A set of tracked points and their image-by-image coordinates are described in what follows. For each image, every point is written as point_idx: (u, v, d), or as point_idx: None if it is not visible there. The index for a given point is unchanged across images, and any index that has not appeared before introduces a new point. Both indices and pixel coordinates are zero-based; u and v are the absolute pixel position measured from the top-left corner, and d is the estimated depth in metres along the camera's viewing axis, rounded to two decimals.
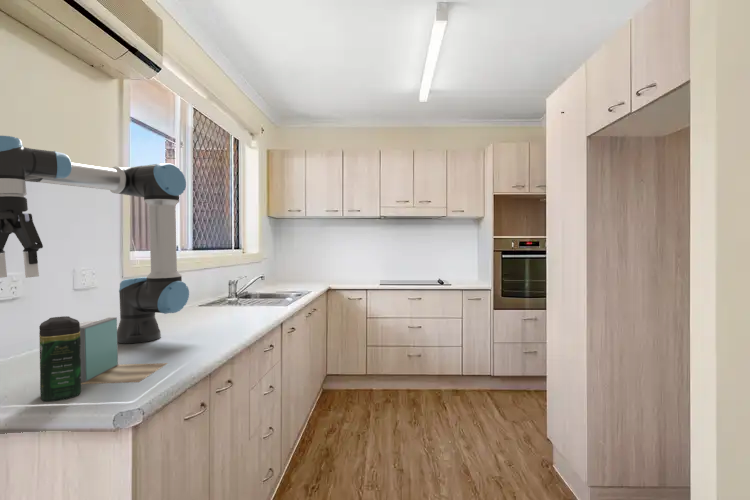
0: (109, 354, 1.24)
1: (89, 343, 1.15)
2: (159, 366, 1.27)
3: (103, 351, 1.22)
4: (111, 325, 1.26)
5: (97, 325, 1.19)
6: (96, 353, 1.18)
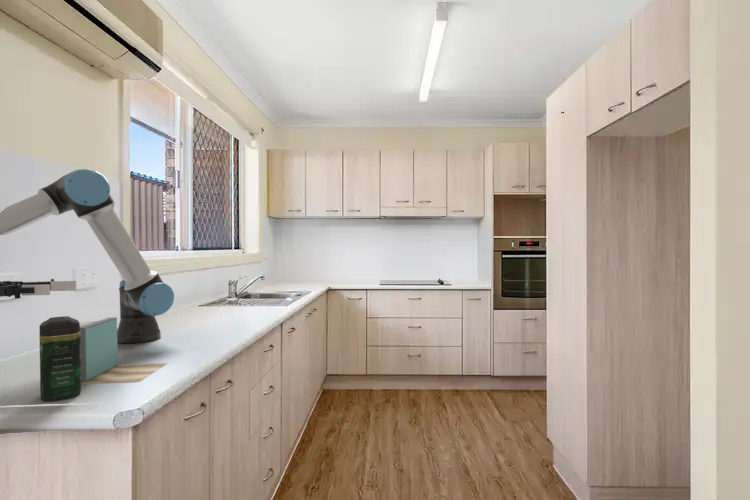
0: (109, 354, 1.24)
1: (89, 343, 1.15)
2: (159, 366, 1.27)
3: (103, 351, 1.22)
4: (111, 325, 1.26)
5: (97, 325, 1.19)
6: (96, 353, 1.18)
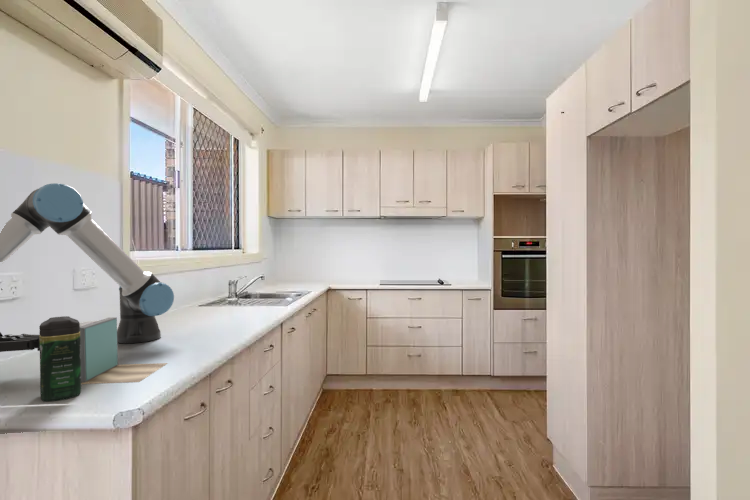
0: (109, 354, 1.24)
1: (89, 343, 1.15)
2: (159, 366, 1.27)
3: (103, 351, 1.22)
4: (111, 325, 1.26)
5: (97, 325, 1.19)
6: (96, 353, 1.18)
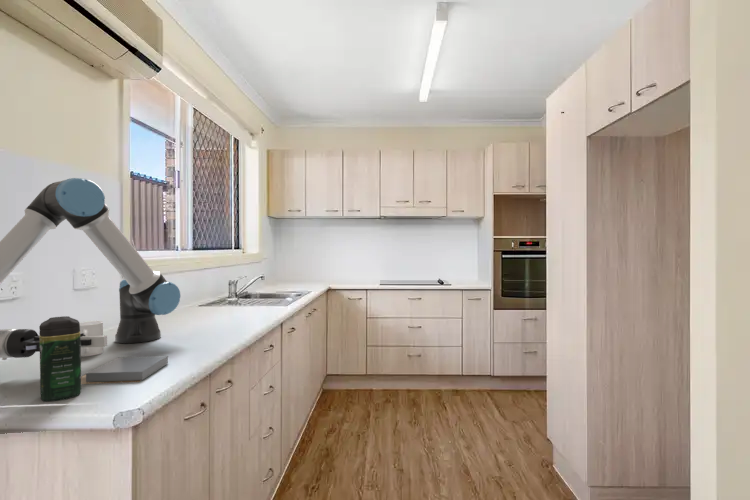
0: None
1: None
2: None
3: None
4: None
5: (150, 373, 1.20)
6: None
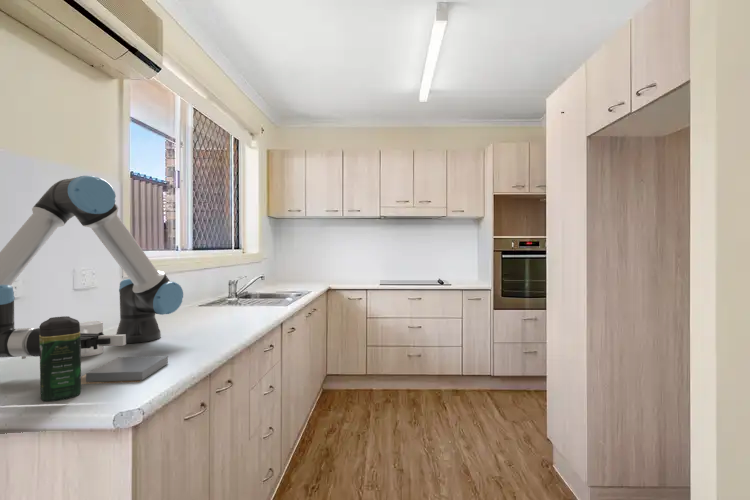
0: None
1: None
2: None
3: None
4: None
5: (150, 373, 1.20)
6: None
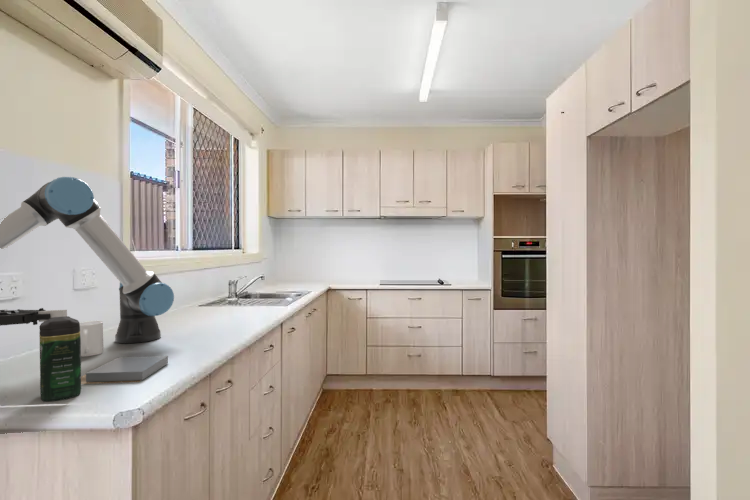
0: None
1: None
2: None
3: None
4: None
5: (150, 373, 1.20)
6: None
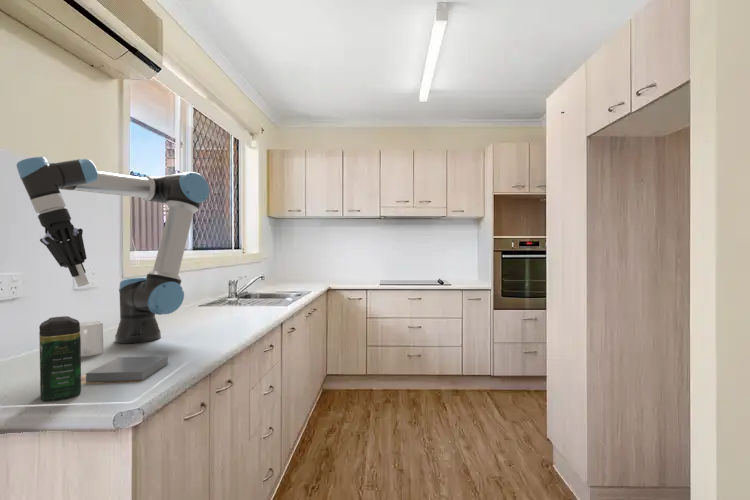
0: None
1: None
2: None
3: None
4: None
5: (150, 373, 1.20)
6: None
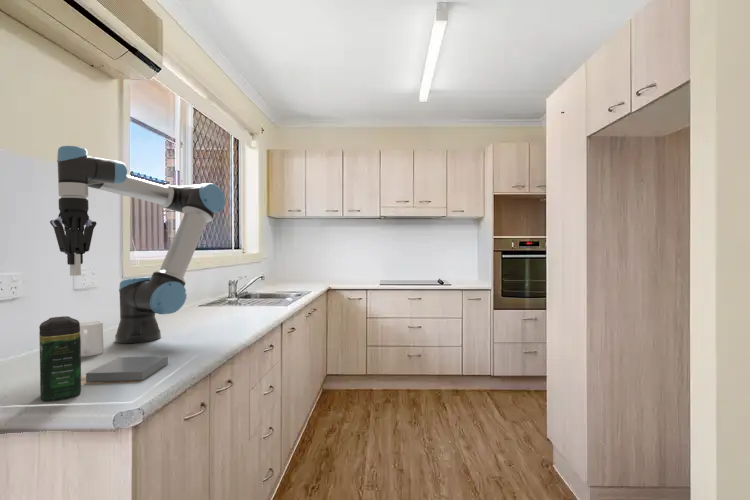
0: None
1: None
2: None
3: None
4: None
5: (150, 373, 1.20)
6: None
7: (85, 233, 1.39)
